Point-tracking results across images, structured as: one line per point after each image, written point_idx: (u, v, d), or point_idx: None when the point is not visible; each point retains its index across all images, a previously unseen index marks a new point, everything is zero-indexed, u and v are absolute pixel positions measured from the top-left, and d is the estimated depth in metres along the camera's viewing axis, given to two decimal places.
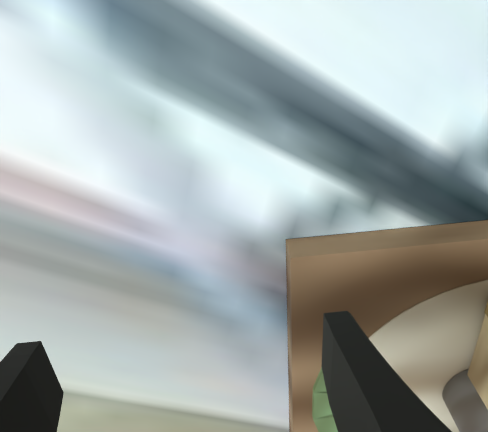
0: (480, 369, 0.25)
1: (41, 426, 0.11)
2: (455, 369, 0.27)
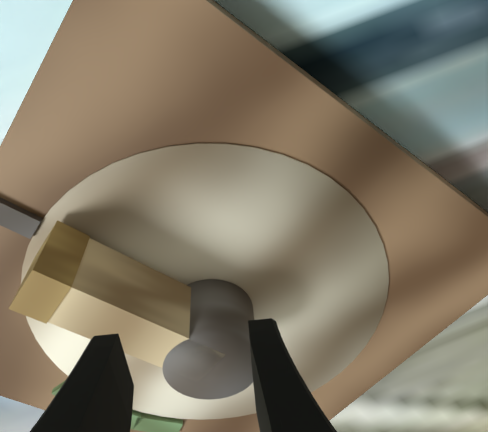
0: None
1: (120, 417, 0.11)
2: None
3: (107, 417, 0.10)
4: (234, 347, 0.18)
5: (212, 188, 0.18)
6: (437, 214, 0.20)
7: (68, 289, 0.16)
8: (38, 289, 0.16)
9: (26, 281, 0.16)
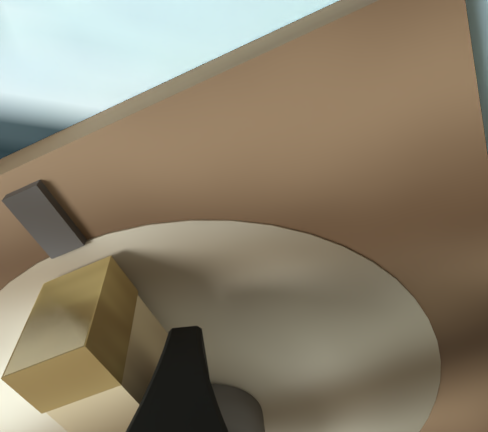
0: None
1: None
2: None
3: None
4: None
5: (317, 297, 0.14)
6: None
7: (113, 385, 0.10)
8: (70, 371, 0.10)
9: (61, 356, 0.10)
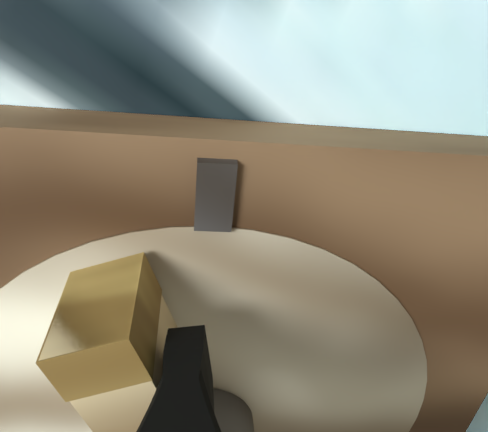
0: None
1: None
2: None
3: None
4: None
5: (362, 350, 0.16)
6: None
7: (143, 380, 0.10)
8: (107, 362, 0.10)
9: (102, 346, 0.10)
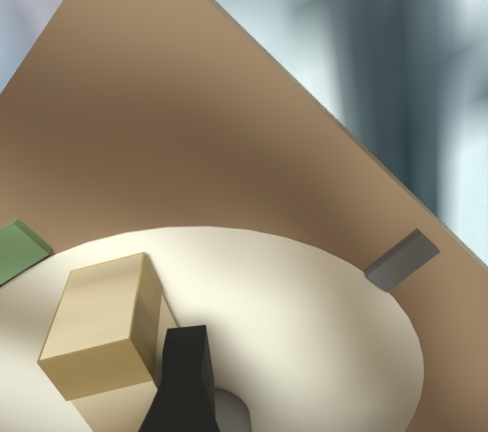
0: None
1: None
2: None
3: None
4: None
5: (362, 420, 0.18)
6: None
7: (144, 379, 0.10)
8: (108, 362, 0.10)
9: (104, 346, 0.10)
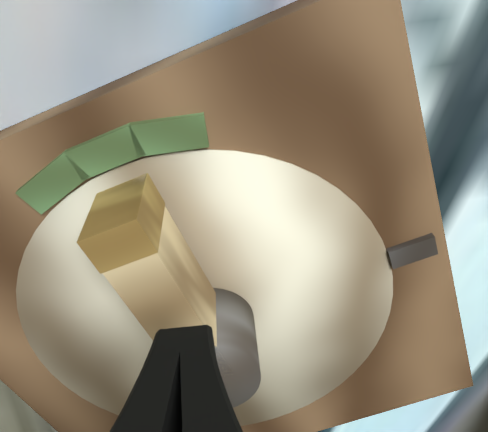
0: None
1: None
2: (231, 284, 0.20)
3: (180, 410, 0.10)
4: (247, 370, 0.18)
5: (317, 365, 0.24)
6: None
7: (151, 252, 0.15)
8: (124, 239, 0.14)
9: (119, 226, 0.14)
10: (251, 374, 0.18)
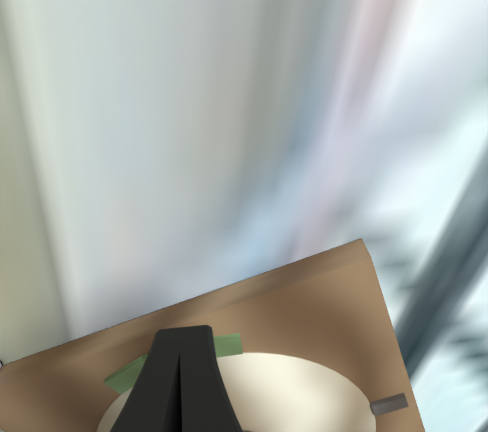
0: None
1: None
2: (254, 427, 0.27)
3: (180, 410, 0.10)
4: None
5: None
6: None
7: None
8: None
9: None
10: None
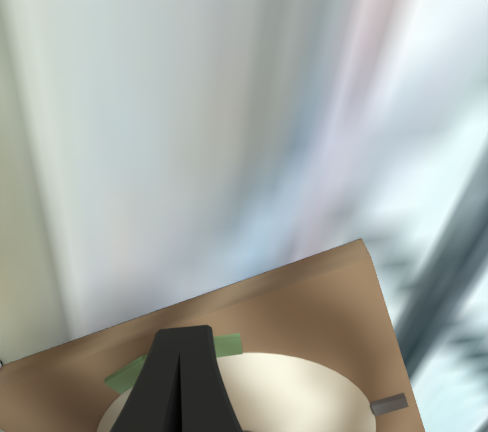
0: None
1: None
2: (254, 427, 0.27)
3: (180, 410, 0.10)
4: None
5: None
6: None
7: None
8: None
9: None
10: None
